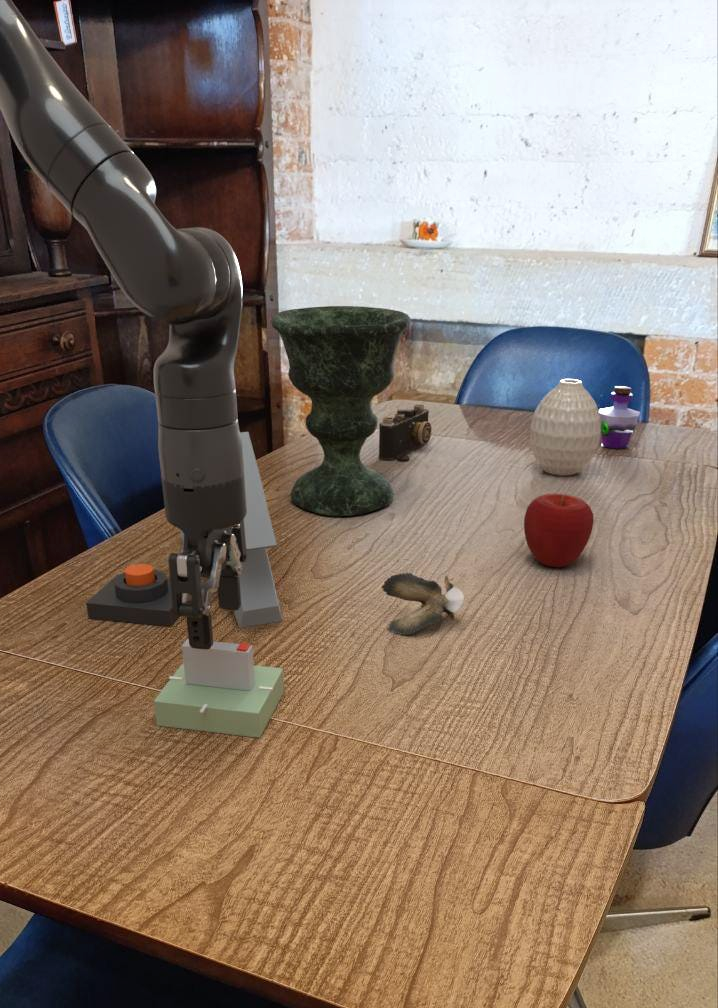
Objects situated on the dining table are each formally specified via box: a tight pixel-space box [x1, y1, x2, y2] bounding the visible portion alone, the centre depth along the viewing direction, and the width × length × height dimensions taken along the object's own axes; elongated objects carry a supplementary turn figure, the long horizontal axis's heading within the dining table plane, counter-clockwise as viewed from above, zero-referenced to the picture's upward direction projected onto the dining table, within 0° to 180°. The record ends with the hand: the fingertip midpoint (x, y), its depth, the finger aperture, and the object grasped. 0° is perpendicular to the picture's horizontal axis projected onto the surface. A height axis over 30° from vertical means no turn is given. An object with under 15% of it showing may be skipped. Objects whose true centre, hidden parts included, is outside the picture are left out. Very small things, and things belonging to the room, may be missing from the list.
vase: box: [529, 378, 602, 477], centre depth 162 cm, size 13×13×17 cm
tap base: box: [153, 662, 285, 739], centre depth 91 cm, size 11×11×3 cm
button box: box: [85, 569, 183, 627], centre depth 112 cm, size 11×9×4 cm
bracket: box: [179, 431, 283, 629], centre depth 117 cm, size 8×27×25 cm
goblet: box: [270, 305, 412, 517], centre depth 144 cm, size 22×23×30 cm
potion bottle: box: [598, 385, 641, 451], centre depth 178 cm, size 9×9×12 cm
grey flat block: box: [181, 638, 255, 691], centre depth 90 cm, size 7×2×5 cm, turn 79°
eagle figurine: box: [381, 572, 465, 636], centre depth 108 cm, size 8×7×9 cm
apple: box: [523, 493, 595, 568], centre depth 125 cm, size 10×10×10 cm
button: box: [124, 563, 155, 586], centre depth 111 cm, size 4×4×2 cm
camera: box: [378, 404, 433, 462], centre depth 175 cm, size 16×7×8 cm, turn 148°
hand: (216, 627), depth 88 cm, fingers open, 8 cm apart
